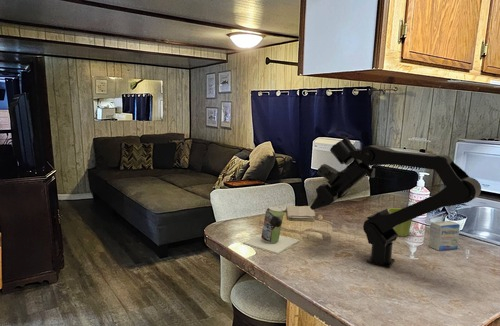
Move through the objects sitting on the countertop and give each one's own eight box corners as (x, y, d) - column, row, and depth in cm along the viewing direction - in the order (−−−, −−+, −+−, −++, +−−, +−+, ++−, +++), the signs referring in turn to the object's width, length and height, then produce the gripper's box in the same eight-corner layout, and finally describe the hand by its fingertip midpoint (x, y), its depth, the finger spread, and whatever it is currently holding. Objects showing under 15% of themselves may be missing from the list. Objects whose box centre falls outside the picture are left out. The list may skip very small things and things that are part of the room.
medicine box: (438, 251, 112) (440, 225, 111) (428, 246, 116) (430, 221, 115) (457, 249, 114) (460, 224, 113) (446, 244, 118) (449, 220, 117)
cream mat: (277, 254, 107) (277, 252, 107) (242, 243, 115) (242, 242, 115) (299, 241, 118) (299, 240, 118) (266, 232, 127) (266, 231, 127)
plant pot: (391, 238, 123) (393, 214, 122) (382, 229, 133) (383, 207, 132) (417, 238, 123) (419, 215, 122) (406, 230, 132) (408, 208, 131)
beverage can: (262, 237, 120) (263, 203, 119) (283, 239, 119) (284, 205, 117) (259, 243, 114) (260, 208, 113) (281, 245, 113) (282, 210, 111)
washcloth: (287, 222, 141) (287, 214, 141) (285, 210, 159) (285, 203, 159) (316, 223, 141) (317, 215, 140) (310, 210, 159) (311, 204, 158)
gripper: (342, 154, 117) (311, 182, 124) (323, 159, 101) (288, 191, 109) (364, 178, 114) (331, 206, 121) (349, 188, 98) (311, 219, 105)
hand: (316, 205), depth 114 cm, fingers open, 9 cm apart
